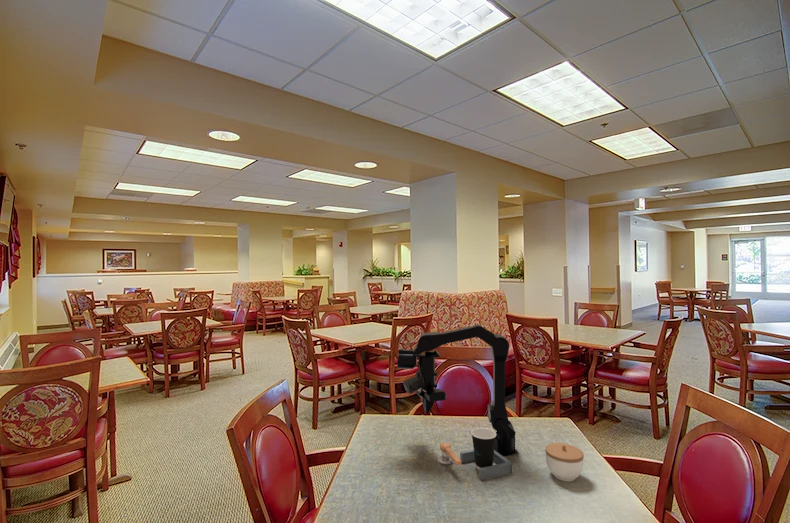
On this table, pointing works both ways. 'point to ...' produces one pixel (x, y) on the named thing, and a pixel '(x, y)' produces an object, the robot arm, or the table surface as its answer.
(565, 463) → the lidded jar
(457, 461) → the lever
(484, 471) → the holder
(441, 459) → the post
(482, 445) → the dixie cup
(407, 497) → the table surface
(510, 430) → the robot arm
